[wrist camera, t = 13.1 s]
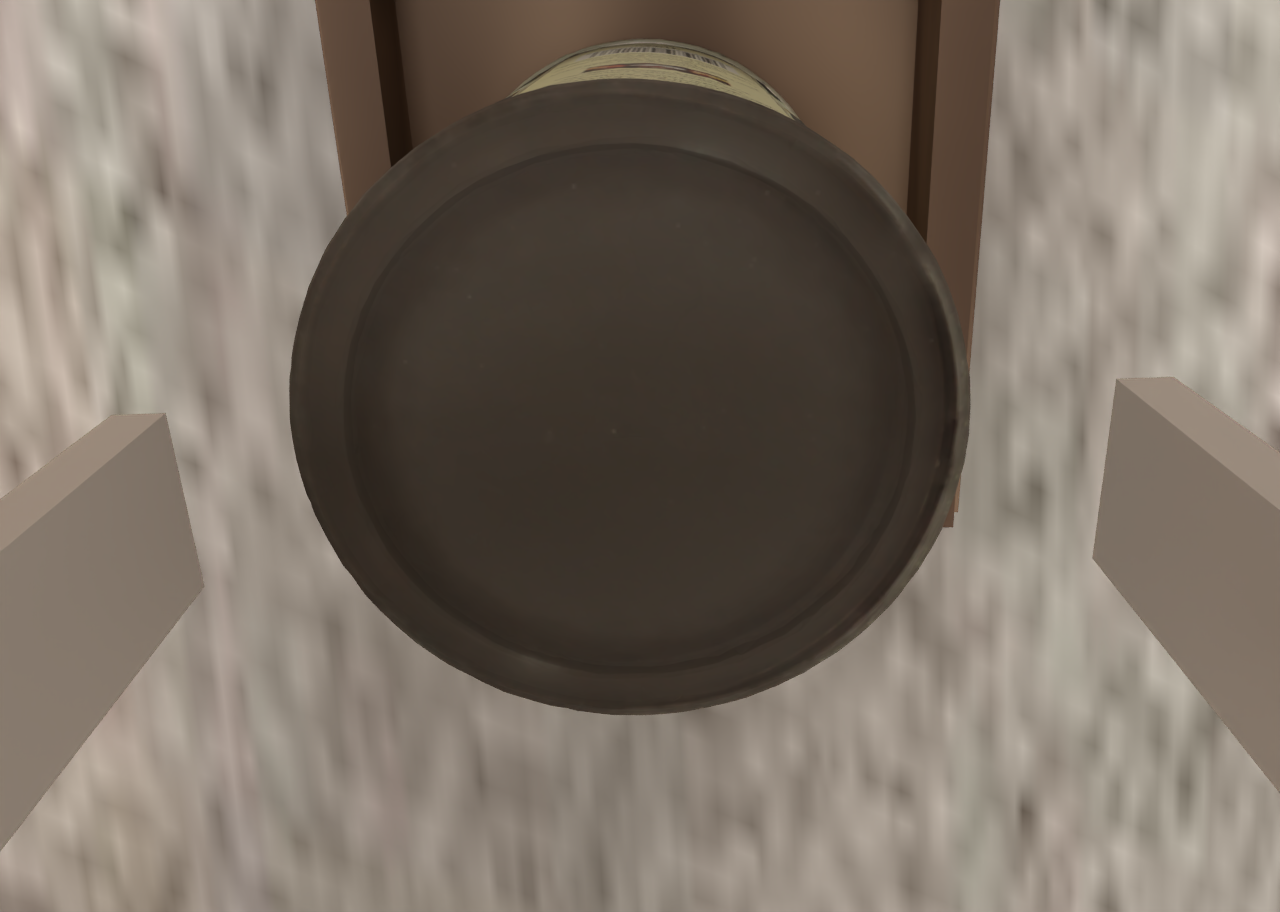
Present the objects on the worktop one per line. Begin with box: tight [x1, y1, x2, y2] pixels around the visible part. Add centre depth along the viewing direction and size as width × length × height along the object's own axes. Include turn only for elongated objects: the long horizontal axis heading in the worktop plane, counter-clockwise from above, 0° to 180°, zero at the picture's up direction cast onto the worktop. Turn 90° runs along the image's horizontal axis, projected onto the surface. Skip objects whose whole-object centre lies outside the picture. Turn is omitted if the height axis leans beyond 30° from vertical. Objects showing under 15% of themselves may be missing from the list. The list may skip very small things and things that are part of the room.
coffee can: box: [289, 39, 970, 715], centre depth 23 cm, size 10×10×14 cm
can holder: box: [315, 0, 1000, 527], centre depth 29 cm, size 17×17×4 cm
